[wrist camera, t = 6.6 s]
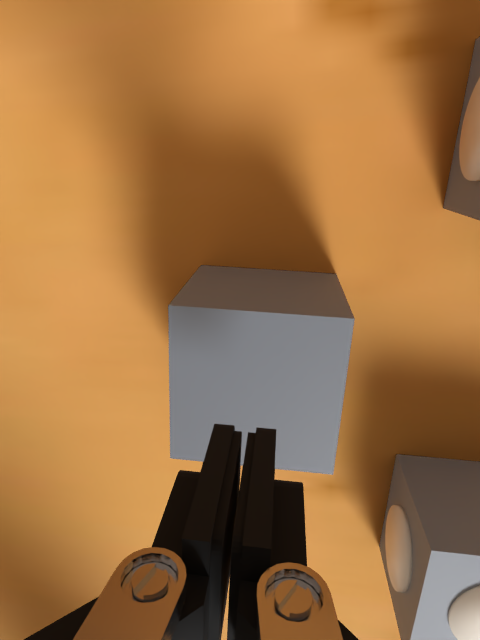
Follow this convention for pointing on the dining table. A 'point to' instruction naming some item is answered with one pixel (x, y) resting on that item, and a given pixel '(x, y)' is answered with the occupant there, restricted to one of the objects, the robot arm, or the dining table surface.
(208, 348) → the plain block
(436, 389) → the dining table surface
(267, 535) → the robot arm
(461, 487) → the badge block
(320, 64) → the dining table surface
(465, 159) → the badge block
